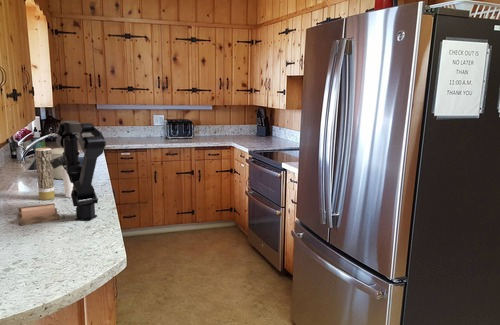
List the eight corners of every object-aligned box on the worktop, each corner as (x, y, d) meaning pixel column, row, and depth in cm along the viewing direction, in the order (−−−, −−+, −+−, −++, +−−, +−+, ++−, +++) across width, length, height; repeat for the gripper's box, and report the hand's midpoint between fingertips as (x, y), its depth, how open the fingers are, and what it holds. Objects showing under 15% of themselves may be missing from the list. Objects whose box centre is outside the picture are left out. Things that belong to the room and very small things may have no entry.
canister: (73, 181, 227) (70, 146, 223) (42, 180, 227) (39, 145, 223) (86, 175, 245) (84, 142, 241) (58, 174, 245) (55, 141, 241)
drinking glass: (62, 198, 191) (60, 168, 188) (65, 195, 197) (63, 166, 195) (77, 197, 193) (75, 168, 190) (79, 194, 199) (77, 165, 196)
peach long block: (54, 213, 164) (53, 204, 164) (55, 216, 161) (54, 207, 160) (22, 218, 158) (21, 208, 158) (22, 220, 155) (21, 211, 154)
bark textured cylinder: (51, 196, 195) (47, 147, 191) (57, 198, 191) (53, 148, 186) (36, 198, 190) (32, 148, 185) (43, 201, 186) (38, 150, 181)
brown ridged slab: (54, 208, 175) (54, 203, 174) (59, 220, 159) (59, 214, 159) (18, 213, 167) (18, 207, 167) (20, 225, 152) (19, 219, 152)
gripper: (48, 148, 170) (50, 182, 173) (52, 154, 155) (55, 192, 157) (75, 146, 176) (77, 180, 179) (82, 152, 160) (84, 188, 163)
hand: (73, 184), depth 169 cm, fingers open, 9 cm apart
